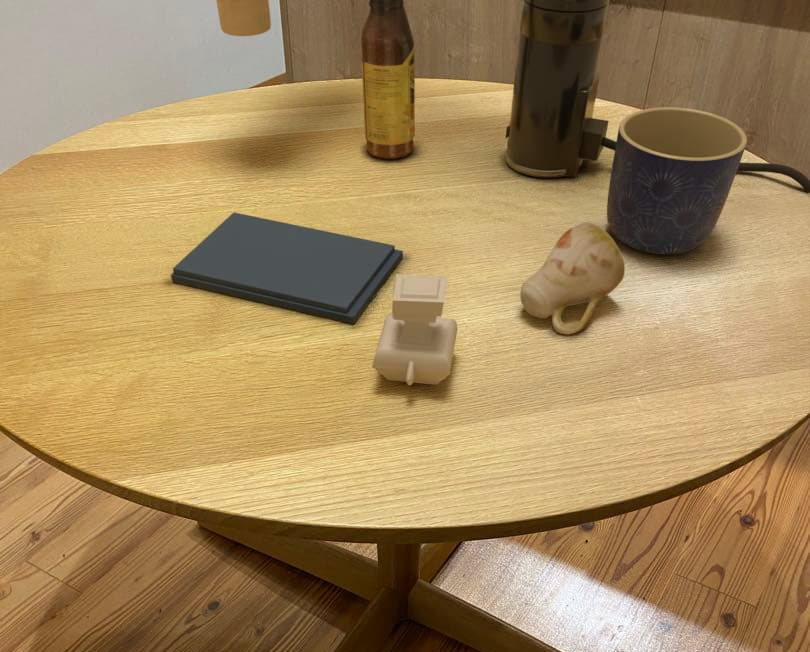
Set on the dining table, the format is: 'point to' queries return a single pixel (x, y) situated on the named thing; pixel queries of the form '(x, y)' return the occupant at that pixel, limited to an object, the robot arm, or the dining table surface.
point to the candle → (244, 17)
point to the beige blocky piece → (416, 332)
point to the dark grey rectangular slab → (289, 266)
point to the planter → (671, 177)
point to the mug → (574, 276)
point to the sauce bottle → (388, 80)
